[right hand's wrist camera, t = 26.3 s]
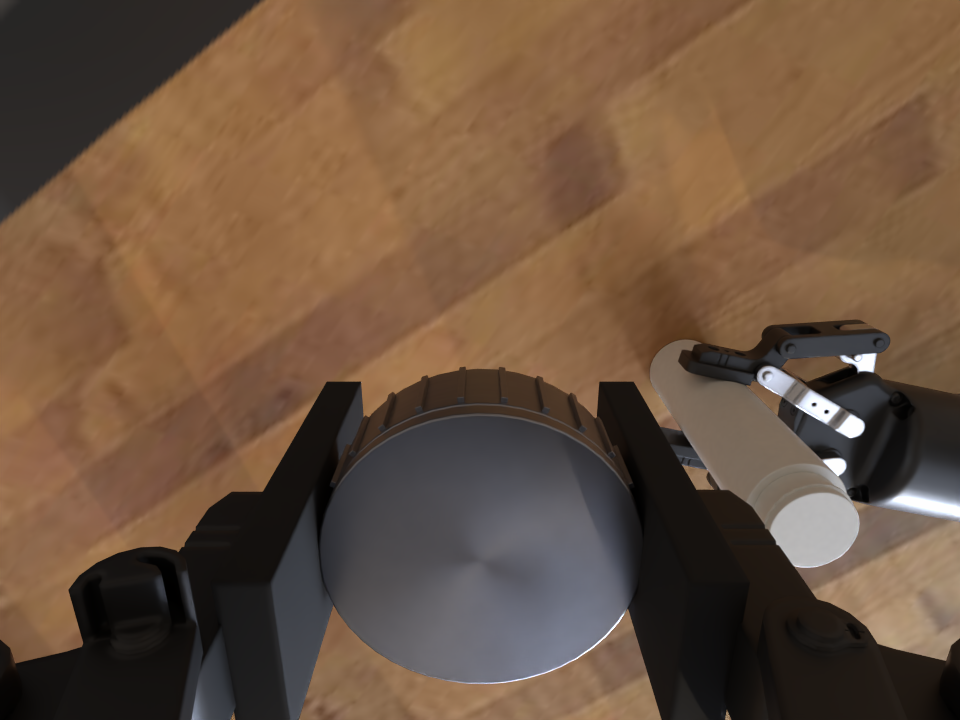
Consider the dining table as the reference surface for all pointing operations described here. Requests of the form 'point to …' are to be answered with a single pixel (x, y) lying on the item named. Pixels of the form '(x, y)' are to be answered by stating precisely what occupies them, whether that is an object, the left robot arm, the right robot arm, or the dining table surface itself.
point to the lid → (481, 529)
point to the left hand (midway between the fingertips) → (670, 401)
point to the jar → (759, 460)
